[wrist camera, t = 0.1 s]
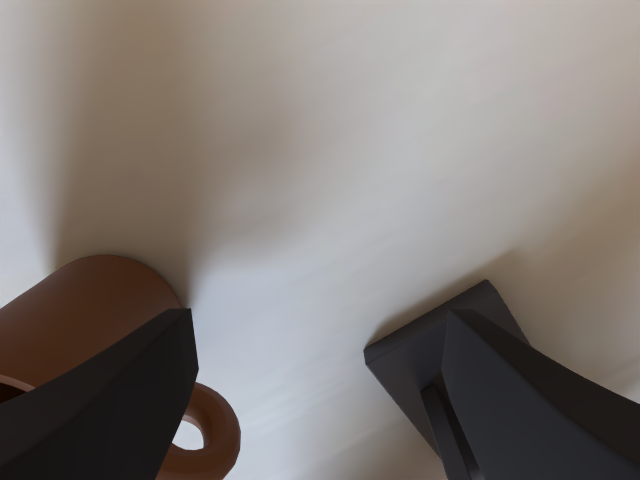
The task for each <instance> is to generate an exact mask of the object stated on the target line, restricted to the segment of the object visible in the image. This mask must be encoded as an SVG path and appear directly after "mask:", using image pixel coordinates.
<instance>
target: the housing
mask: <svg viewBox="0 0 640 480" xmlns="http://www.w3.org/2000/svg"><path fill="white" fill-rule="evenodd" d="M449 308H471V309H473V310H475V311H477V312H478V313H480V314H482V315H483V316H485V317H486V318H488V319H489V320H491V321H492V322H494V323H496V324H497V325H499V326H500V327H502V328H503V329H505V330H506V331H508V332H509V333H511V334H512V335H514V336H515V337H517V338H518V339H520V340H521V341H523V342H524V343H526V344H527V345H529V346H531V345H530V343H529V342H528V340H527V339H526V337H525V335H524V334H523V332H522V330H521V329H520V327H519V325H518V324H517V322H516V320H515V319H514V317H513V316H512V314H511V312H510V311H509V309H508V307H507V306H506V304H505V302H504V301H503V299H502V298H501V296H500V294H499V293H498V291H497V290H496V289H495V288H494V286H493V285H492V284H491V283H490V282H489V281H488V280H485V281H483V282H481V283H479V284H478V285H476V286H474V287H472V288H471V289H469V290H467V291H465V292H464V293H462V294H460V295H458V296H457V297H455V298H453V299H451V300H450V301H448V302H446V303H444V304H443V305H441V306H439V307H437V308H436V309H434V310H432V311H430V312H429V313H427V314H425V315H423V316H422V317H420V318H418V319H416V320H415V321H413V322H411V323H409V324H408V325H406V326H404V327H402V328H401V329H399V330H397V331H395V332H394V333H392V334H390V335H388V336H387V337H385V338H383V339H381V340H380V341H378V342H376V343H374V344H372V345H371V346H369V347H367V348H365V349H364V350H363V351H364V357H365V363H366V366H367V367H368V368H369V370H370V371H371V372H372V373H373V375H374V376H375V377H376V378H377V380H378V381H379V382H380V383H381V385H382V386H383V387H384V388H385V390H386V391H387V392H388V393H389V395H390V396H391V397H392V398H393V400H394V401H395V402H396V403H397V405H398V406H399V407H400V408H401V410H402V411H403V412H404V413H405V415H406V416H407V417H408V418H409V420H410V421H411V422H412V423H413V425H414V426H415V427H416V428H417V430H418V431H419V432H420V433H421V435H422V436H423V437H424V438H425V440H426V441H427V442H428V443H429V445H430V446H431V447H432V448H433V450H434V451H435V452H436V453H437V455H438V456H439V457H440V458H441V460H442V463H443V466H444V469H445V472H446V475H447V478H448V480H485V479H484V477H483V474H482V472H481V470H480V468H479V465H478V463H477V461H476V459H475V456H474V454H473V452H472V450H471V447H470V445H469V443H468V441H467V438H466V436H465V434H464V432H463V429H462V427H461V425H460V423H459V420H458V418H457V416H456V413H455V411H454V409H453V406H452V404H451V401H450V398H449V395H448V392H447V388H446V385H445V381H444V377H443V374H442V370H441V367H442V359H443V351H444V343H445V336H446V328H447V320H448V313H449Z"/></svg>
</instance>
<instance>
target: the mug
mask: <svg viewBox="0 0 640 480" xmlns="http://www.w3.org/2000/svg"><path fill="white" fill-rule="evenodd" d="M169 308H181V306H180V303H179V301H178V299H177V297H176V295H175V293H174V292H173V290H172V288H171V287H170V286H169V285H168V283H167V282H166V281H165V280H164V279H163V278H162V277H161V276H160V275H158V274H157V273H156V272H154V271H153V270H152V269H150V268H148V267H147V266H145V265H143V264H141V263H139V262H137V261H134V260H131V259H128V258H123V257H119V256H112V255H96V256H89V257H85V258H81V259H78V260H76V261H73V262H71V263H69V264H67V265H65V266H63V267H62V268H60V269H59V270H57V271H55V272H54V273H52V274H51V275H49V276H48V277H46V278H45V279H44V280H42V281H41V282H39V283H38V284H36V285H35V286H34V287H32V288H31V289H29V290H28V291H26V292H24V293H23V294H21V295H20V296H18V297H17V298H15V299H14V300H13V301H11V302H10V303H8V304H7V305H5V306H4V307H2V308H1V309H0V404H1V403H4V402H6V401H8V400H11V399H13V398H15V397H18V396H20V395H22V394H24V393H26V392H28V391H31V390H33V389H35V388H37V387H39V386H41V385H43V384H45V383H47V382H49V381H51V380H53V379H55V378H56V377H58V376H60V375H62V374H64V373H66V372H68V371H69V370H71V369H73V368H75V367H77V366H78V365H80V364H81V363H83V362H85V361H86V360H88V359H90V358H91V357H93V356H95V355H96V354H98V353H100V352H101V351H103V350H105V349H106V348H108V347H110V346H111V345H113V344H114V343H116V342H117V341H119V340H120V339H122V338H124V337H125V336H127V335H128V334H130V333H131V332H133V331H134V330H136V329H137V328H139V327H140V326H142V325H143V324H145V323H146V322H148V321H149V320H151V319H152V318H154V317H155V316H157V315H159V314H160V313H162V312H164V311H165V310H167V309H169ZM182 420H184V421H187V422H189V423H191V424H193V425H195V426H196V427H197V428H198V429H199V430H200V431H201V433H202V436H203V441H204V447H203V449H198V450H185V449H182V448H180V447H178V446H176V445H175V444H173V443H171V445H170V447H169V450H168V452H167V454H166V456H165V459H164V461H163V463H162V465H161V468H160V470H159V472H158V474H157V477H156V479H155V480H223V479H224V478H225V476H226V475H227V474H228V473H229V471H230V470H231V469H232V468H233V466H234V465H235V463H236V460H237V457H238V454H239V451H240V439H241V430H240V426H239V422H238V419H237V417H236V415H235V413H234V411H233V409H232V407H231V406H230V405H229V403H228V402H227V401H226V399H225V398H223V397H222V396H221V395H220V394H219V393H218V392H216V391H214V390H213V389H211V388H209V387H207V386H205V385H203V384H200V383H197V382H195V385H194V388H193V392H192V395H191V398H190V401H189V404H188V406H187V409H186V411H185V413H184V416H183V418H182Z"/></svg>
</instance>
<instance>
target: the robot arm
mask: <svg viewBox="0 0 640 480" xmlns="http://www.w3.org/2000/svg"><path fill="white" fill-rule="evenodd" d="M198 370H199V367H198V359H197V351H196V343H195V336H194V328H193V320H192V313H191V308H169V309H167V310H165V311H164V312H162V313H160V314H159V315H157V316H155V317H154V318H152V319H151V320H149V321H148V322H146V323H145V324H143V325H142V326H140V327H139V328H137V329H136V330H134V331H133V332H131V333H130V334H128V335H127V336H125V337H124V338H122V339H120V340H119V341H117V342H116V343H114V344H113V345H111V346H110V347H108V348H106V349H105V350H103V351H101V352H100V353H98V354H96V355H95V356H93V357H91V358H90V359H88V360H86V361H85V362H83V363H81V364H80V365H78V366H77V367H75V368H73V369H71V370H69V371H68V372H66V373H64V374H62V375H60V376H58V377H56V378H55V379H53V380H51V381H49V382H47V383H45V384H43V385H41V386H39V387H37V388H35V389H33V390H31V391H28V392H26V393H24V394H22V395H20V396H18V397H15V398H13V399H11V400H8V401H6V402H4V403H1V404H0V480H155V479H156V477H157V474H158V472H159V470H160V468H161V465H162V463H163V461H164V459H165V456H166V454H167V452H168V450H169V447H170V445H171V443H172V441H173V438H174V436H175V434H176V432H177V429H178V427H179V425H180V423H181V420H182V418H183V416H184V413H185V411H186V409H187V406H188V404H189V401H190V398H191V395H192V392H193V388H194V385H195V381H196V377H197V374H198ZM441 370H442V374H443V377H444V381H445V385H446V388H447V392H448V395H449V398H450V401H451V404H452V406H453V409H454V411H455V413H456V416H457V418H458V420H459V423H460V425H461V427H462V429H463V432H464V434H465V436H466V438H467V441H468V443H469V445H470V447H471V450H472V452H473V454H474V456H475V459H476V461H477V463H478V465H479V468H480V470H481V472H482V474H483V477H484V479H485V480H640V404H638V403H636V402H634V401H631V400H629V399H627V398H625V397H623V396H620V395H618V394H616V393H614V392H612V391H610V390H608V389H606V388H604V387H602V386H600V385H598V384H596V383H594V382H592V381H590V380H588V379H586V378H584V377H582V376H580V375H578V374H576V373H575V372H573V371H571V370H569V369H567V368H566V367H564V366H562V365H561V364H559V363H557V362H555V361H554V360H552V359H550V358H548V357H547V356H545V355H543V354H542V353H540V352H539V351H537V350H535V349H534V348H532V347H531V346H529V345H527V344H526V343H524V342H523V341H521V340H520V339H518V338H517V337H515V336H514V335H512V334H511V333H509V332H508V331H506V330H505V329H503V328H502V327H500V326H499V325H497V324H496V323H494V322H492V321H491V320H489V319H488V318H486V317H485V316H483V315H482V314H480V313H478V312H477V311H475V310H473V309H471V308H449V313H448V320H447V328H446V336H445V343H444V351H443V359H442V367H441Z"/></svg>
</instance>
